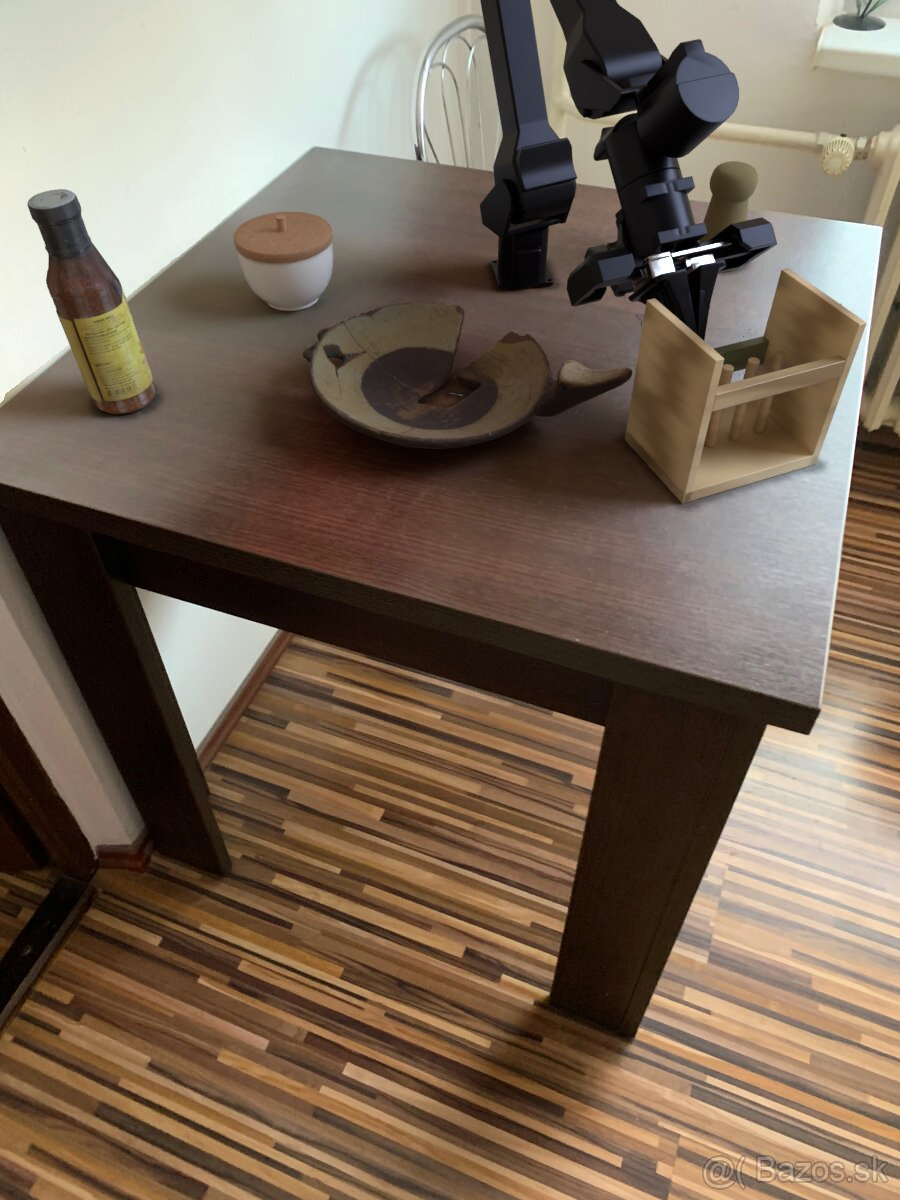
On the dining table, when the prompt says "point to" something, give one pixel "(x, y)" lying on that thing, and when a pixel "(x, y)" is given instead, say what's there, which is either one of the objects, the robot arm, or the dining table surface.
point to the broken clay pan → (440, 378)
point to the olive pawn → (729, 196)
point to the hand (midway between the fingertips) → (696, 354)
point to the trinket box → (286, 258)
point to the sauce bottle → (92, 307)
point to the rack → (740, 393)
